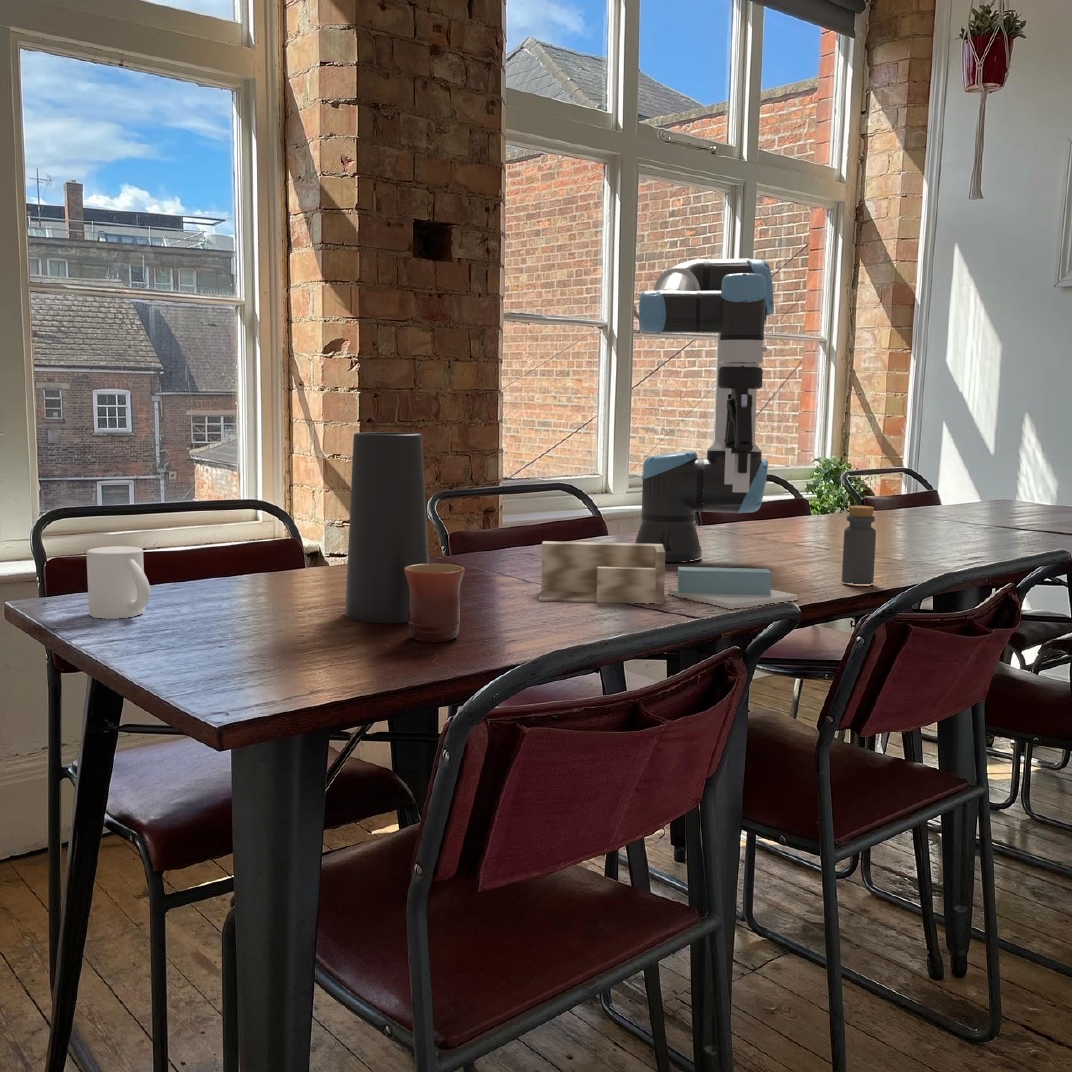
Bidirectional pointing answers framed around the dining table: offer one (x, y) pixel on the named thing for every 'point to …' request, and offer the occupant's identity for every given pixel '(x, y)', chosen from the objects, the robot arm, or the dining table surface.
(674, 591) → the tile
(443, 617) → the mug
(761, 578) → the bar
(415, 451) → the vase
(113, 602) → the mug
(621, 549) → the block
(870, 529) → the bottle
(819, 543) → the dining table surface
